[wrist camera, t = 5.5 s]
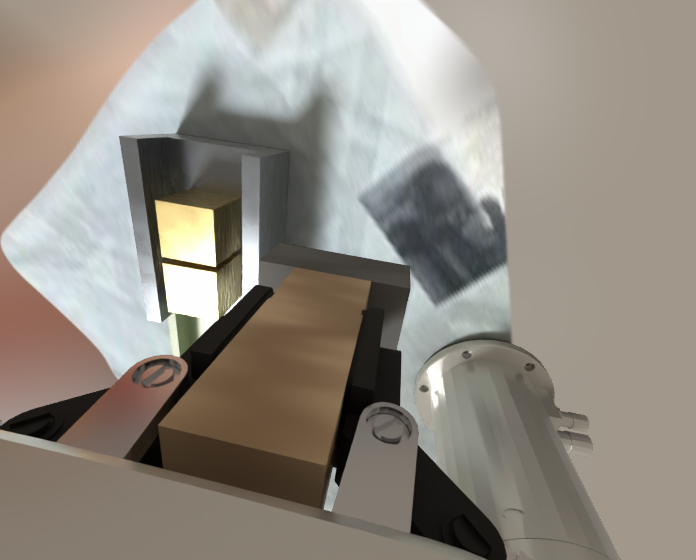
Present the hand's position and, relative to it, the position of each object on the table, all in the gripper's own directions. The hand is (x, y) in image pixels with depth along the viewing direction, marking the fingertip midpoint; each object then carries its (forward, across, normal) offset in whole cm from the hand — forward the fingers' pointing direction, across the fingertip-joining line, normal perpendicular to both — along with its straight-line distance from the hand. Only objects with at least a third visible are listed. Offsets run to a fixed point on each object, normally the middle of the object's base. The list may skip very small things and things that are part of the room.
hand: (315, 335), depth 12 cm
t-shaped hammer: (+5, 0, 0) cm, 5 cm away
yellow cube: (+15, +12, +6) cm, 20 cm away
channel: (+18, +12, +3) cm, 21 cm away
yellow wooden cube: (+15, +12, +1) cm, 19 cm away
